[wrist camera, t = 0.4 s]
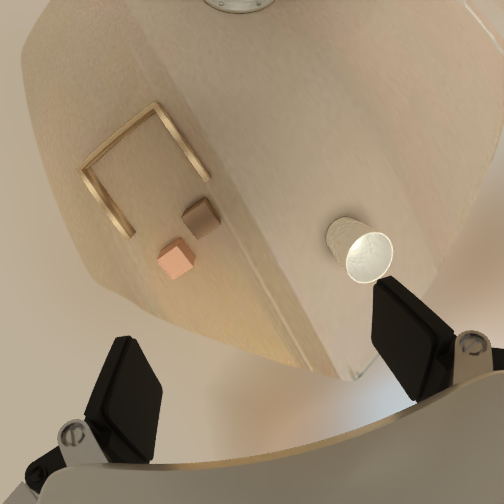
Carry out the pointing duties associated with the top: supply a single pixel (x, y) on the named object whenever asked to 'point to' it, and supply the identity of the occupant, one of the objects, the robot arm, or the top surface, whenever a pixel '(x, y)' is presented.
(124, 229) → the tan u-shaped piece
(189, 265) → the terracotta block
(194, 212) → the walnut block
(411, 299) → the robot arm
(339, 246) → the white cup
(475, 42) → the top surface
